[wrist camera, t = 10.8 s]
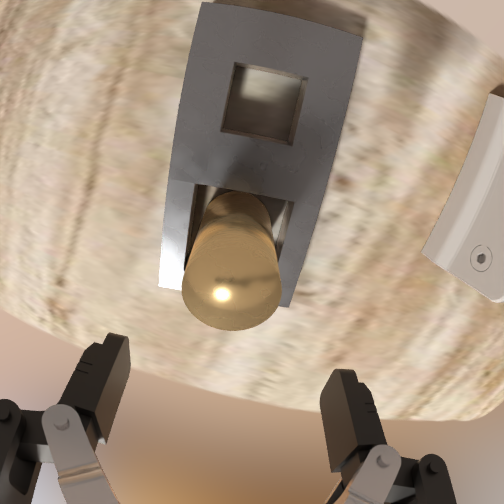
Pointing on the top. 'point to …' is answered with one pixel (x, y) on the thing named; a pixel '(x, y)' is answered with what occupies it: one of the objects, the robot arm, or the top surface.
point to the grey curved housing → (476, 212)
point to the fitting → (233, 265)
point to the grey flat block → (251, 145)
